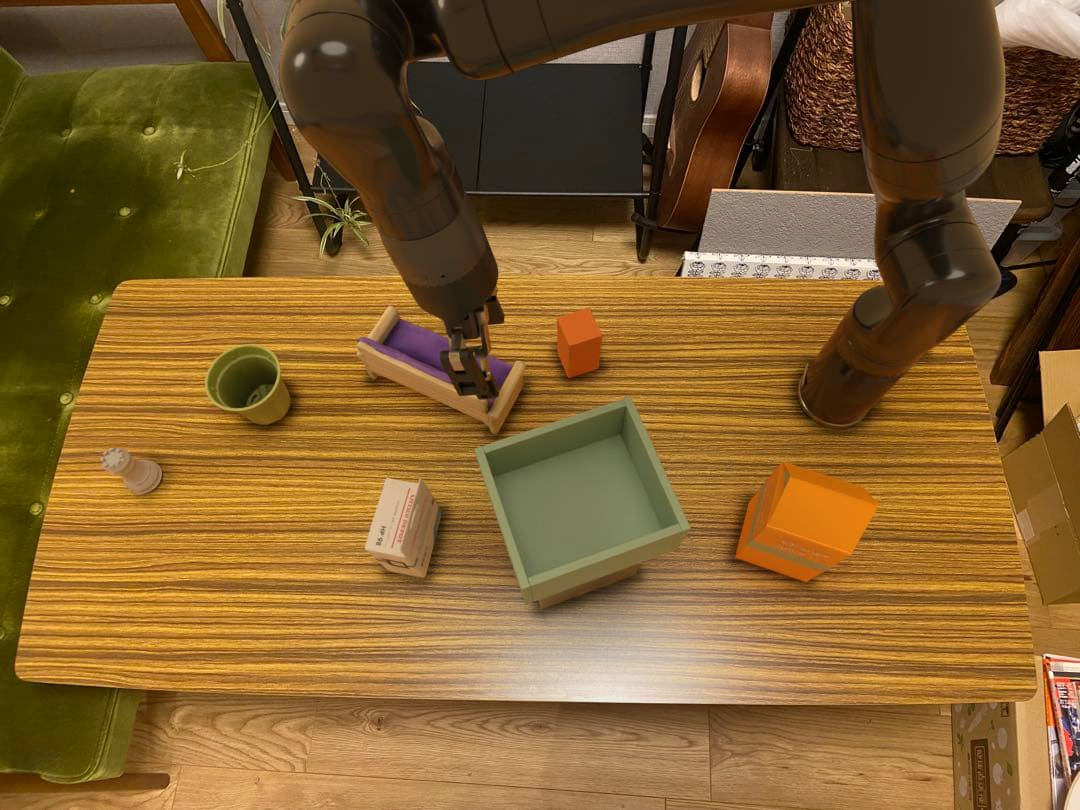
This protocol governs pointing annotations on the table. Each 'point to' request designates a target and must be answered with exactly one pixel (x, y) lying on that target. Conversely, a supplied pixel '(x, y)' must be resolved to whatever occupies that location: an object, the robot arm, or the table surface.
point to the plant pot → (248, 384)
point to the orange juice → (804, 522)
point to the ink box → (404, 527)
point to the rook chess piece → (132, 470)
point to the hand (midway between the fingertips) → (492, 356)
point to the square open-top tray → (581, 499)
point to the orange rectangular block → (578, 342)
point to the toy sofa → (434, 368)
